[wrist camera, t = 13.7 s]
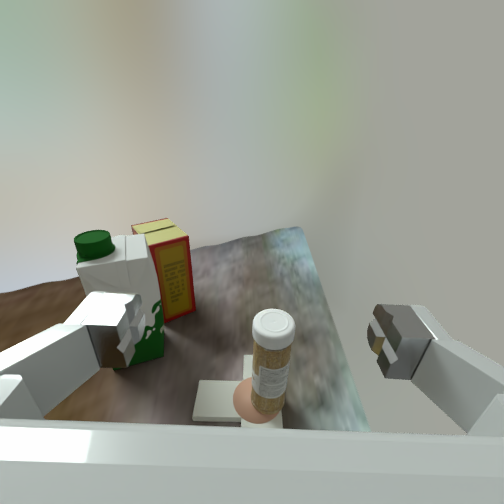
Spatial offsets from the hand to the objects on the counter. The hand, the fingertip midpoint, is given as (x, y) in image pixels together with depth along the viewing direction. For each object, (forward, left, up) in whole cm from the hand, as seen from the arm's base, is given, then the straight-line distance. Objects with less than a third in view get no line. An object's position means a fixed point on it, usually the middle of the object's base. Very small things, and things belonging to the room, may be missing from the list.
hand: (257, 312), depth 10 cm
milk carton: (-18, +24, -29) cm, 41 cm away
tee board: (-1, +15, -28) cm, 32 cm away
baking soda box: (-16, +35, -29) cm, 48 cm away
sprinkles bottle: (+2, +15, -28) cm, 31 cm away
